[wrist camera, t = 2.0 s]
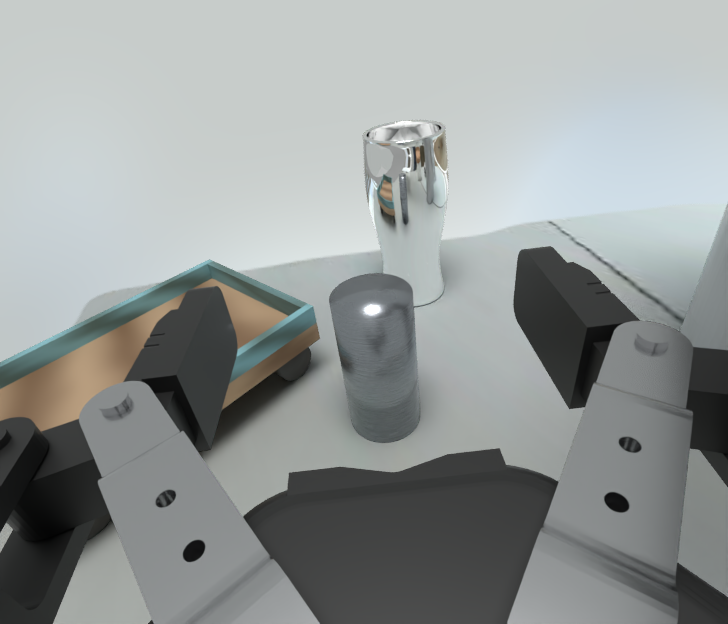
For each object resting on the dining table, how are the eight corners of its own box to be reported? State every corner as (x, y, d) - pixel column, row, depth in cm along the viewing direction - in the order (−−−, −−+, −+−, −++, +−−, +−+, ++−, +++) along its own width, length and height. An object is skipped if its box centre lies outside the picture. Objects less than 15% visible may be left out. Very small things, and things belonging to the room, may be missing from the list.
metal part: (381, 380, 34) (366, 266, 28) (433, 408, 31) (429, 287, 25) (337, 420, 31) (311, 302, 26) (390, 454, 28) (375, 330, 23)
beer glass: (363, 290, 45) (342, 134, 36) (415, 264, 48) (408, 115, 39) (408, 319, 40) (397, 148, 31) (463, 289, 43) (467, 125, 34)
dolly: (227, 312, 44) (209, 259, 41) (326, 367, 36) (312, 306, 32) (0, 446, 33) (-52, 387, 29) (67, 571, 24) (5, 510, 21)
